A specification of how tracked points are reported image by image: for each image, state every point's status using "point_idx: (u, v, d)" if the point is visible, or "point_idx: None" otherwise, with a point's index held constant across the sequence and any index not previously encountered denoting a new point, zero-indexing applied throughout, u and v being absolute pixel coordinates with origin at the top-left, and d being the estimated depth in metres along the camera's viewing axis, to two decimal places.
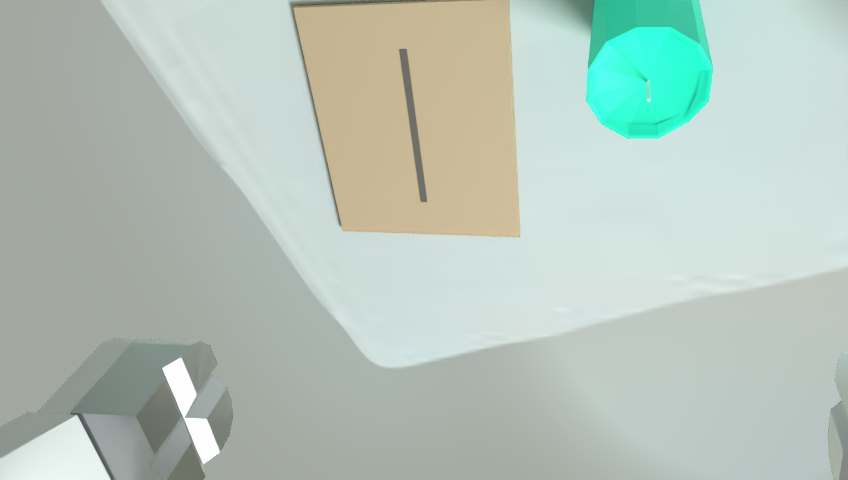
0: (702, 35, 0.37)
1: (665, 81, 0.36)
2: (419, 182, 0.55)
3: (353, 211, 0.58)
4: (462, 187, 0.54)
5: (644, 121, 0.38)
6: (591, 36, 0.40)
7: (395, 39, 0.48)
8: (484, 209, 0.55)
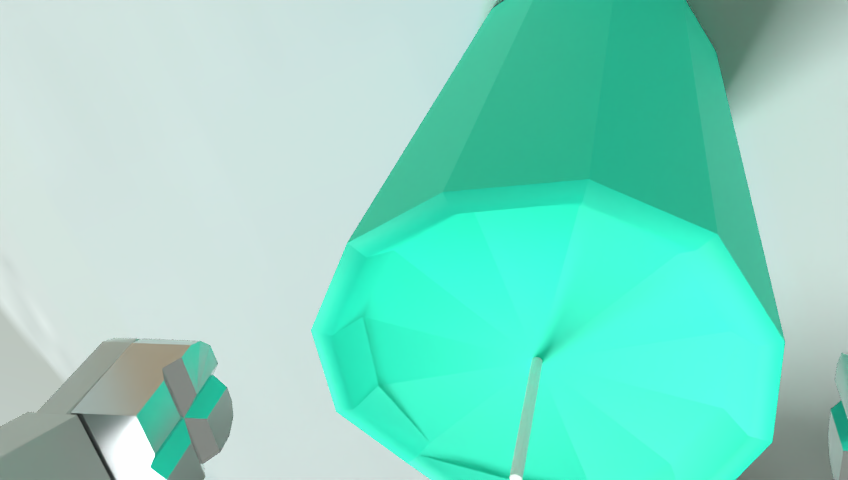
0: None
1: (542, 406, 0.10)
2: None
3: None
4: None
5: (383, 355, 0.11)
6: (608, 58, 0.11)
7: None
8: None
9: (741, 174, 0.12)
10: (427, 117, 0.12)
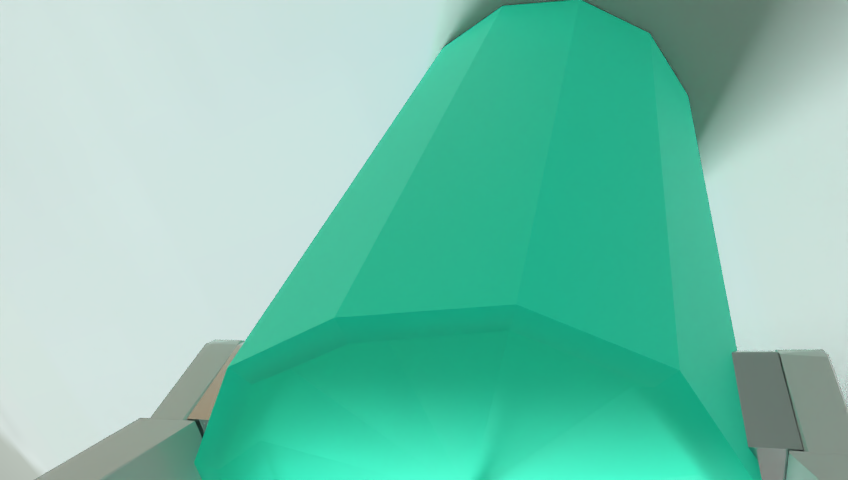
0: None
1: None
2: None
3: None
4: None
5: None
6: (558, 122, 0.10)
7: None
8: None
9: (713, 256, 0.10)
10: (351, 187, 0.10)
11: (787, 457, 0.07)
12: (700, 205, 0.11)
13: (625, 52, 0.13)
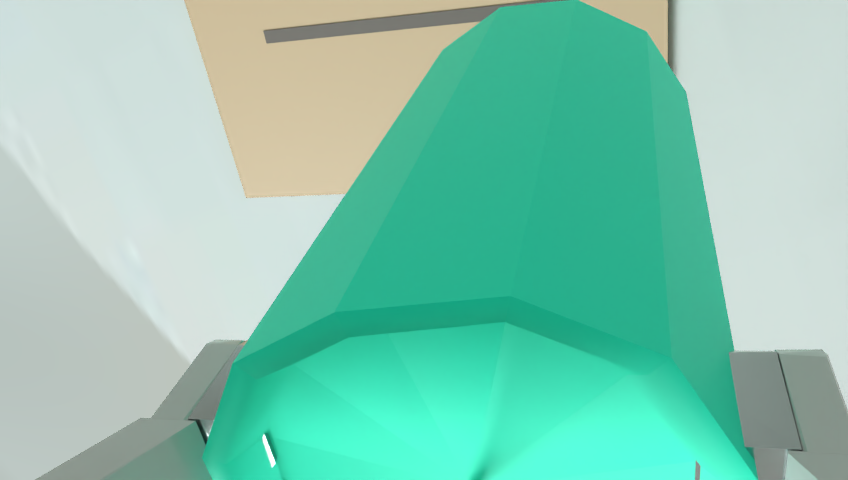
0: None
1: None
2: (304, 28, 0.29)
3: None
4: (314, 107, 0.30)
5: (294, 477, 0.09)
6: (553, 120, 0.10)
7: None
8: (281, 143, 0.32)
9: (709, 248, 0.10)
10: (352, 187, 0.11)
11: (786, 456, 0.07)
12: (696, 199, 0.11)
13: (621, 50, 0.13)
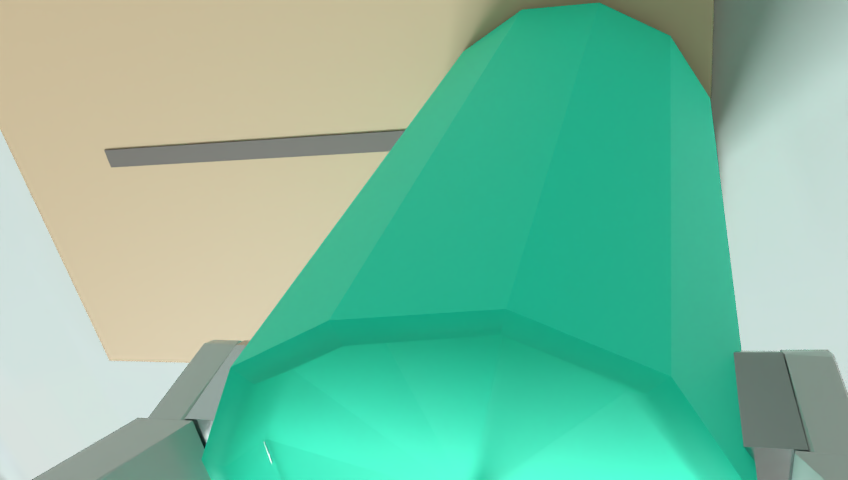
0: None
1: None
2: (162, 149, 0.19)
3: None
4: (188, 253, 0.21)
5: None
6: (565, 127, 0.10)
7: None
8: (148, 297, 0.22)
9: (724, 261, 0.10)
10: (362, 191, 0.11)
11: (792, 456, 0.07)
12: (713, 210, 0.11)
13: (642, 55, 0.13)
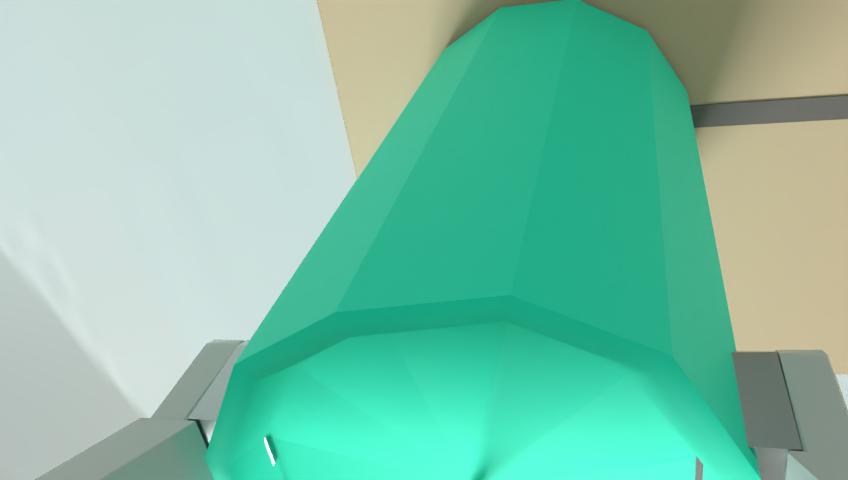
0: None
1: None
2: None
3: None
4: None
5: (296, 478, 0.09)
6: (553, 119, 0.10)
7: None
8: None
9: (711, 247, 0.10)
10: (353, 188, 0.11)
11: (787, 456, 0.07)
12: (698, 198, 0.11)
13: (622, 49, 0.13)
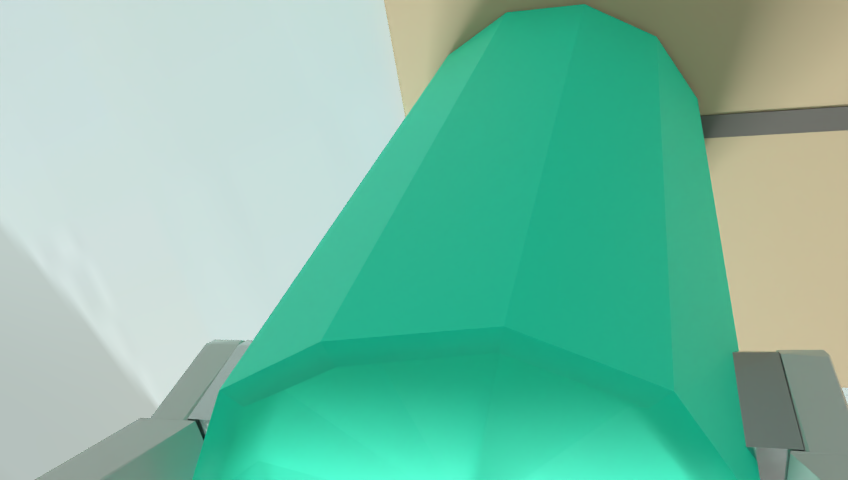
0: None
1: None
2: None
3: None
4: None
5: None
6: (555, 133, 0.10)
7: None
8: None
9: (719, 266, 0.10)
10: (350, 201, 0.10)
11: (788, 456, 0.07)
12: (706, 213, 0.11)
13: (630, 57, 0.13)
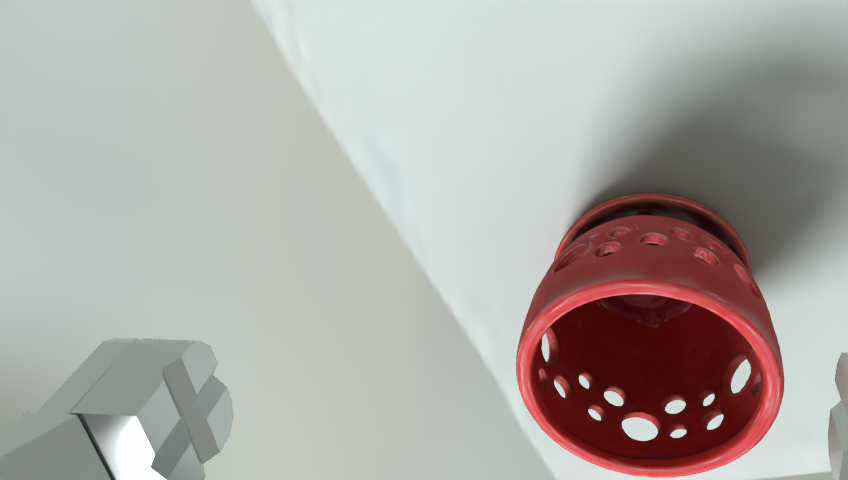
0: None
1: None
2: None
3: None
4: None
5: None
6: None
7: None
8: None
9: None
10: None
11: None
12: None
13: None
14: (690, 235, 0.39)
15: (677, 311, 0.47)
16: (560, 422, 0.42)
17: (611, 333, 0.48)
